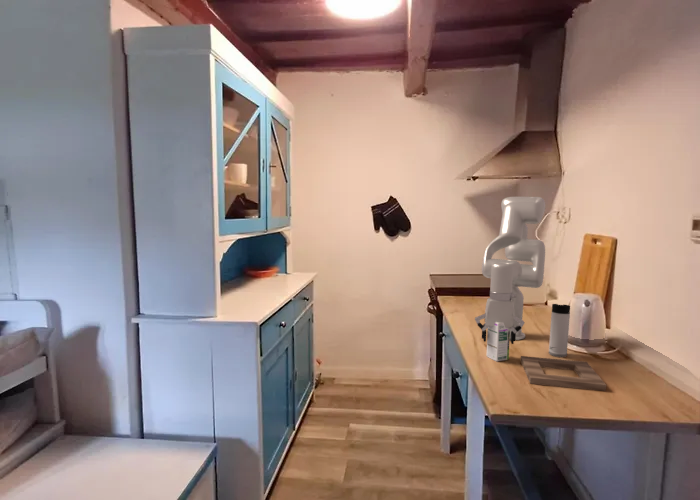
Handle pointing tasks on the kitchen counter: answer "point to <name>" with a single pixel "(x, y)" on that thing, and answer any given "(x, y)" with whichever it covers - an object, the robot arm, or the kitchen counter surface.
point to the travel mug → (559, 330)
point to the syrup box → (498, 342)
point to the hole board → (583, 370)
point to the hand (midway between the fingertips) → (498, 341)
